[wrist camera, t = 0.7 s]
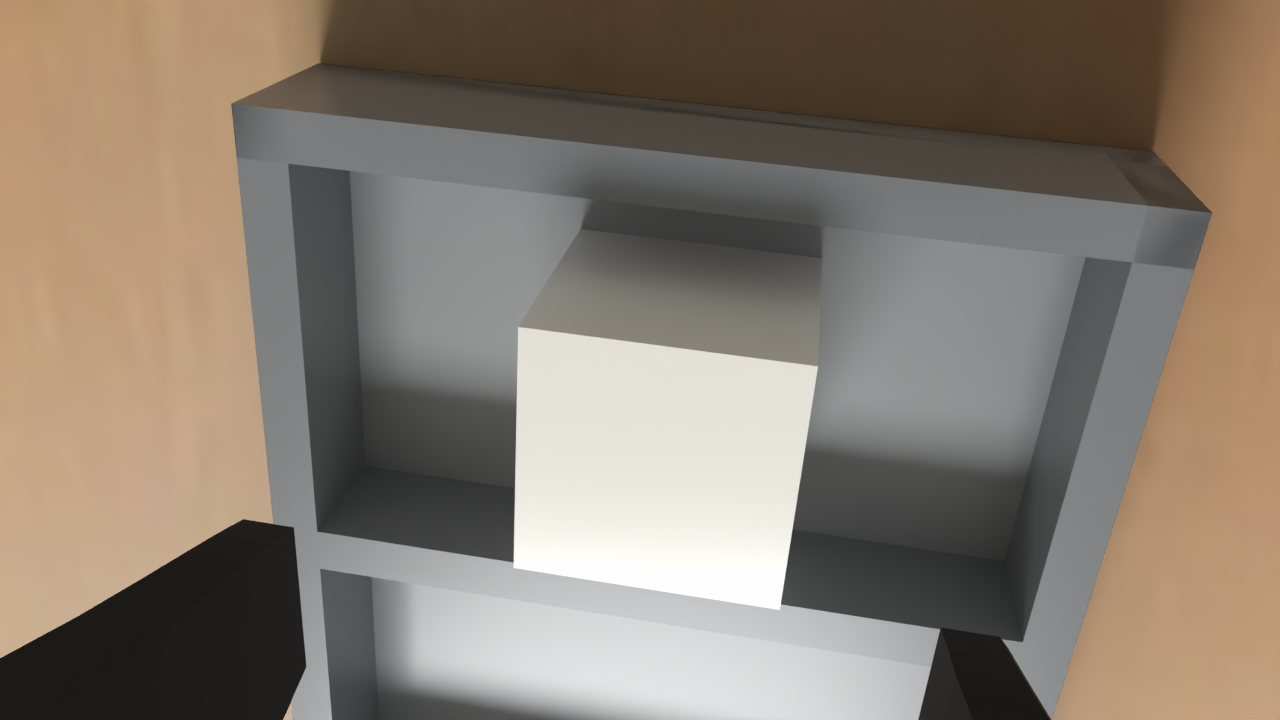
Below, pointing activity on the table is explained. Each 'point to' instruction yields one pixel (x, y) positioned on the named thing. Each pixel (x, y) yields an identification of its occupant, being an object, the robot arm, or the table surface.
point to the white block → (666, 415)
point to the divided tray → (840, 415)
